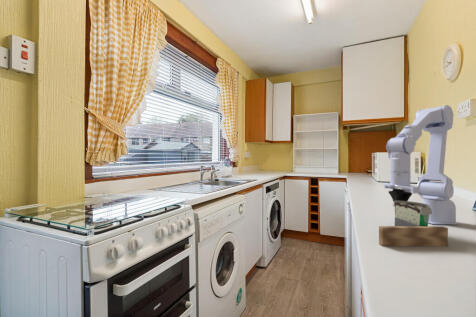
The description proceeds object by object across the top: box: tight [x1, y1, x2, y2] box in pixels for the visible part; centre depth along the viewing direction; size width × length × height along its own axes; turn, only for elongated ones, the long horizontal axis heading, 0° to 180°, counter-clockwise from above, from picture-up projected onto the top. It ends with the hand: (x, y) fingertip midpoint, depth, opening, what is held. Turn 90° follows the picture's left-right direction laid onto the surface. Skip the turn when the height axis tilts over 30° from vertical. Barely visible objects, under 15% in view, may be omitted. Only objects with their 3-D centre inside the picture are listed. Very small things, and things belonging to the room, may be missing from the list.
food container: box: [392, 200, 432, 226], centre depth 72 cm, size 12×6×10 cm, turn 0°
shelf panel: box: [378, 225, 449, 247], centre depth 64 cm, size 18×2×5 cm, turn 90°
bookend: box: [394, 217, 419, 226], centre depth 70 cm, size 6×10×5 cm, turn 0°
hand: (400, 211), depth 79 cm, fingers closed
